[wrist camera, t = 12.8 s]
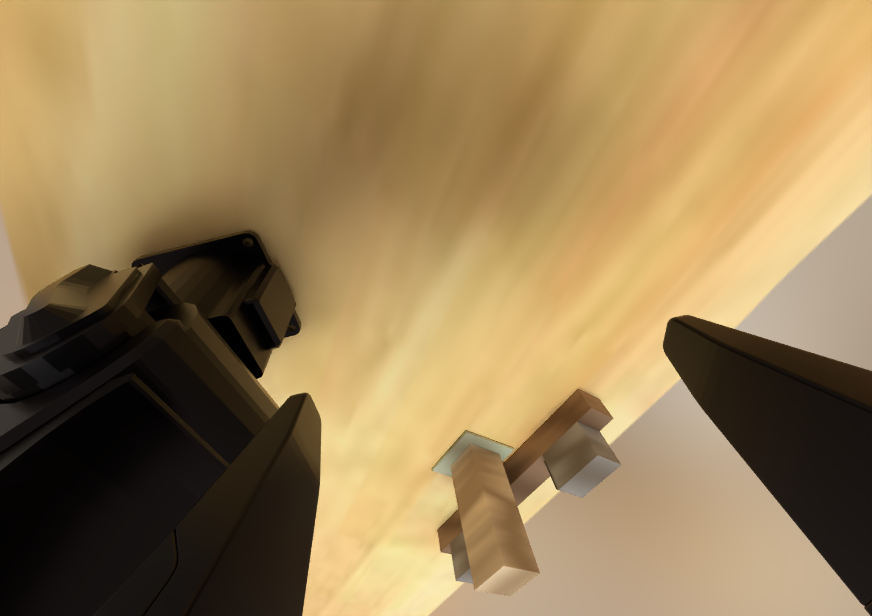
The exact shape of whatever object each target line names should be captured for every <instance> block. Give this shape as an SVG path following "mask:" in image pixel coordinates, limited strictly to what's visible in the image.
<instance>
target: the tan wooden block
mask: <svg viewBox="0 0 872 616" xmlns="http://www.w3.org/2000/svg"><path fill="white" fill-rule="evenodd" d="M450 468H451V473H452V478H453V483H454V488H455V494H456V499H457V504H458V509H459V514H460V519H461V524H462V529H463V534H464V539H465V544H466V549H467V554H468V559H469V564H470V569H471V574H472V580H473V585H474V590H476V591H481V592H488V593H495V594H500V595H507V596H511V595H512V594H514V593H515V592H517V591H518V590H519V589H520V588H522V587H523V586H524V585H525V584H527V583H528V582H529V581H531V580H532V579H533V578H534V577H536V576H537V575H538V574H539V573H540V572H539V569H538V566H537V563H536V560H535V557H534V555H533V552H532V548H531V546H530V543H529V540H528V537H527V534H526V531H525V528H524V525H523V522H522V519H521V516H520V513H519V510H518V507H517V504H516V501H515V499H514V496H513V493H512V490H511V487H510V484H509V481H508V478H507V475H506V472H505V469H504V466H503V463H502V460H501V457H500V454H499V453H496V452H493V451H490V450H487V449H485V448H482V447H479V446H476V445H473V444H470V445H469V446H468V447H467V448H466V449H465V451H464V452H463V453H462V454H461V455H460V456H459V457H458V458H457V459H456V460H455V462H454V463H453V464H452V465H451V466H450Z"/></svg>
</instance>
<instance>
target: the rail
mask: <svg viewBox="0 0 872 616" xmlns="http://www.w3.org/2000/svg"><path fill="white" fill-rule="evenodd" d="M612 419H613V417H612V416H611V415H610V413H609V412H608V410H607V409H606V408H605V406H604V405H603V403H602V402H601V401H600V400H599V399H597V398H595V397H593V396H591V395H589V394H587V393H585V392H583V391H581V390H579V389H578V390H577V391H576V392H575V393H574V394H573V395H572V396H571V397H570V398H569V399H568V400H567V401H566V402H565V403H564V404H563V405H562V406H561V407H560V408H559V409H558V410H557V411H556V412H555V413H554V414H553V415H552V416H551V417H550V418H549V419H548V420H547V421H546V422H545V423H544V424H543V425H542V426H541V427H540V428H539V429H538V430H537V431H536V432H535V433H534V434H533V435H532V436H531V437H530V438H529V439H528V440H527V441H526V442H525V443H524V444H523V445H522V446H521V447H520V448H519V449H518V450H517V451H516V452H515V453H514V454H513V455H512V456H511V457H510V458H509V459H508V460H507V461H506V462H505V463H504V464H503V466H504V469H505V472H506V475H507V478H508V481H509V484H510V487H511V490H512V493H513V496H514V499H515V501H516V504H517V506H518V505H519V504H520V503H521V502H522V501H524V500H525V499H526V498H527V497H528V496H529V495H530V494H531V493H532V492H533V491H535V490H536V489H537V488H538V487H539V486H540V485H541V484H542V483H543V482H544V481H545V480H547V479H548V478H549V477H550V476H551V478H552V481H553V483H554V485H555V487H556V489H557V490H560V491H563V492H566V493H569V494H572V495H575V496H579V497H581V498H583V497H584V496H585V495H586V494H587V493H589V492H590V491H591V490H592V489H593V488H594V487H595V486H597V485H598V484H599V483H600V482H602V481H603V480H604V479H605V478H606V477H607V476H609V475H610V474H611V473H612V472H614V471H615V470H616V469H617V468H618V467H620V466H621V463H620V462H619V460H618V459H617V457H616V456H615V454H614V453H613V451H612V450H611V448H610V447H609V445H608V444H607V442H606V440H605V439H604V437H603V436H602V434H601V433H600V430H601V429H602V428H603V427H605V426H606V425H607V424H608V423H609V422H610V421H611V420H612ZM470 444H473V445H476V446H479V447H482V448H485V449H487V450H490V451H493V452H496V453H499V454H500V457H501V460H502V461H503V460H504V459H505V458H506V457H507V456H508V455H509V454H510V453H511V452H512V451H513V450H514V448H513V447H510V446H507V445H504V444H502V443H499V442H496V441H493V440H491V439H488V438H485V437H482V436H480V435H477V434H474V433H472V432H469V431H465V432H464V433H463V434H462V435H461V437H460V438H459V439H458V440H457V441H456V442H455V443H454V444H453V445H452V447H451V448H450V449H449V450H448V451H447V452H446V453H445V454H444V456H443V457H442V458H441V459H440V460H439V461H438V462H437V463H436V465H435V466H434V467H433V468H432V471H434V472H438V473H441V474H444V475H448V476H451V477H452V473H451V468H450V466H451V465H452V464H453V463H454V462H455V460H456V459H457V458H458V457H459V456H460V455H461V454H462V453H463V452H464V451H465V449H466V448H467V447H468V446H469V445H470ZM438 536H439V543H440V550H441V552H443V553H448V554H452V560H453V566H454V572H455V578H456V581H461V582H467V583H473V580H472V574H471V569H470V564H469V559H468V554H467V549H466V544H465V539H464V534H463V529H462V524H461V519H460V514H459V509H458V510H457V511H456V512H455V513H454V514H453V515H452V516H451V517H450V518H449V519H448V520H447V521H446V522H445V523H444V524H443V525H442V526H441V527H440V528H439V529H438Z"/></svg>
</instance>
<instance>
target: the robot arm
mask: <svg viewBox="0 0 872 616" xmlns="http://www.w3.org/2000/svg"><path fill="white" fill-rule="evenodd" d="M245 238H250V239H252V241H253V244H248V243H247V242H246V241H245ZM141 264H144V265H145V266H142V265H141ZM295 306H296V302H295V300H294V298H293V296H292V294H291V292H290V290H289V288H288V286H287V283H286V281H285V279H284V277H283V275H282V273H281V271H280V269H279V267H278V266H276V265H274V264H272V262H271V260H270V258H269V256H268V254H267V252H266V250H265V248H264V245H263V243H262V241H261V239H260V237H259V236H258V235H257V234H256V233H255V232H253V231H243V232H239V233H235V234H231V235H227V236H223V237H219V238H214V239H210V240H206V241H202V242H198V243H194V244H190V245H186V246H182V247H178V248H174V249H170V250H166V251H162V252H157V253H153V254H149V255H145V256H141V257H139V258H137V259H136V260H134V261H133V263H132V268H129V269H126V270H123V271H120V272H118V271H117V270H115V271H110V270H106V269H103V268H100V267H96V266H93V265H90V264H89V265H87V266H84V267H82V268H79V269H76V270H74V271H72V272H71V273H69V274H67V275H66V276H64V277H62V278H61V279H59V280H57V281H56V282H54V283H52V284H51V285H49V286H47V287H46V288H44V289H43V290H41V291H40V292H38V293H37V294H36V295H35V296H34V297H33V298H32V300H31V301H30V303H29V305H28V307H27V308H26V309H25V310H23V311H21V312H19V313H17V314H15V315H14V316H12V317H11V319H10V321H9V323H8V325H7V326H5V327H3V328H1V329H0V616H302V613H303V606H304V598H305V591H306V584H307V576H308V569H309V562H310V555H311V547H312V540H313V533H314V525H315V518H316V511H317V503H318V496H319V487H320V462H321V418H320V415H319V413H318V411H317V409H316V406H315V404H314V402H313V400H312V398H311V396H310V395H309V394H308V393H301V394H296V395H292V396H290V397H289V398H288V399H287V400H286V401H285V403H284V404H283V405H282V406H281V407H280V408H279V406H278V405H277V404H276V403H275V401H274V400H273V399H272V398H271V397H270V395H269V394H268V393H267V392H266V390H265V389H264V388H263V387H262V386H261V384H260V383H259V382H258V381H257V379H258V378H260V377H262V375H263V373H264V370H265V368H266V365H267V363H268V360H269V358H270V355H271V353H272V350H273V349H276V348H279V347H280V345H281V343H282V341H283V338H285V337H289V336H293V335H296V334H298V333H299V332H300V328H301V322H300V320H299V318H298V316H297V314H296V312H295V310H294V309H295ZM288 325H294V326H295V327H296V328H290V327H289V326H288ZM663 349H664V352H665V354H666V356H667V357H668V359H669V360H670V362H671V363H672V365H673V366H674V368H675V369H676V371H677V372H678V374H679V375H680V377H681V379H682V380H683V382H684V383H685V384H686V386H687V387H688V389H689V390H690V392H691V394H692V395H693V397H694V398H695V399H696V401H697V402H698V404H699V405H700V406H701V408H702V409H703V410H704V412H705V413H706V414H707V415H708V416H709V418H710V419H711V420H712V421H713V423H714V424H715V425H716V426H717V427H718V429H719V430H720V431H721V432H722V434H723V435H724V436H725V437H726V439H727V440H728V441H729V442H730V444H731V445H732V446H733V447H734V448H735V450H736V451H737V452H738V453H739V454H740V456H741V457H742V458H743V459H744V461H745V462H746V463H747V464H748V466H749V467H750V468H751V469H752V470H753V472H754V473H755V474H756V475H757V477H758V478H759V479H760V480H761V482H762V483H763V484H764V485H765V486H766V487H767V489H768V490H769V491H770V493H771V494H772V495H773V496H774V497H775V499H776V500H777V501H778V502H779V503H780V505H781V506H782V507H783V509H784V510H785V511H786V512H787V513H788V514H789V516H790V517H791V518H792V520H793V521H794V522H795V523H796V524H797V526H798V527H799V528H800V529H801V530H802V532H803V533H804V534H805V535H806V537H807V538H808V539H809V540H810V542H811V543H812V544H813V545H814V547H815V548H816V549H817V550H818V551H819V553H820V554H821V555H822V556H823V558H824V559H825V560H826V561H827V562H828V564H829V565H830V566H831V567H832V569H833V570H834V571H835V572H836V574H837V575H838V576H839V577H840V578H841V580H842V581H843V582H844V583H845V584H846V586H847V587H848V588H849V589H850V591H851V592H852V593H853V594H854V596H855V597H856V598H857V599H858V600H859V602H860V603H861V604H862V605H864V606H865V607H864V608H865V610H866V611H867V612H868V613H869V614H870V616H872V371H870V370H866V369H863V368H860V367H857V366H853V365H850V364H847V363H843V362H840V361H836V360H834V359H830V358H827V357H824V356H820V355H817V354H814V353H811V352H807V351H804V350H801V349H798V348H794V347H791V346H788V345H785V344H781V343H778V342H775V341H772V340H768V339H765V338H762V337H758V336H755V335H752V334H749V333H746V332H742V331H739V330H736V329H732V328H729V327H726V326H723V325H719V324H716V323H713V322H710V321H706V320H703V319H700V318H697V317H693V316H690V315H683V316H678V317H674V318H671V319H670V320H669V321H668V323H667V328H666V332H665V337H664V341H663Z"/></svg>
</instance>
